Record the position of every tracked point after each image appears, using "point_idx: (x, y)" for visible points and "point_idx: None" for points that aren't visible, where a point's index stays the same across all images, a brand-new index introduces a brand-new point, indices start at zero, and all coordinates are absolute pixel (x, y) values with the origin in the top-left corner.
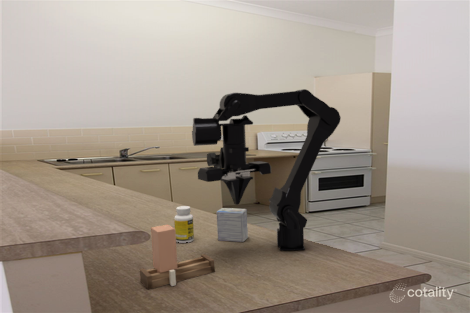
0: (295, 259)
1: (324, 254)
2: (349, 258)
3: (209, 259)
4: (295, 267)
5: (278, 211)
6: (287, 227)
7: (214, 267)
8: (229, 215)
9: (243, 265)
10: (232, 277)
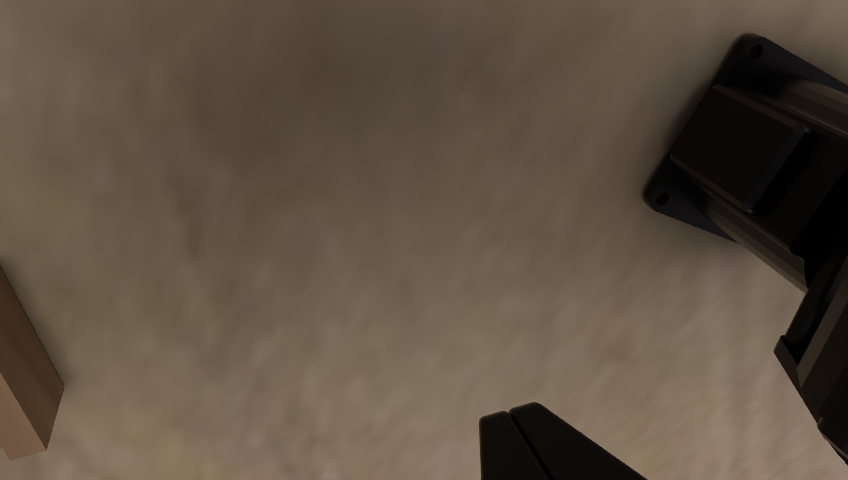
0: (618, 346)
1: (783, 328)
2: None
3: (5, 434)
4: None
5: (842, 453)
6: (781, 349)
7: (57, 409)
8: None
9: (295, 341)
10: (168, 476)
